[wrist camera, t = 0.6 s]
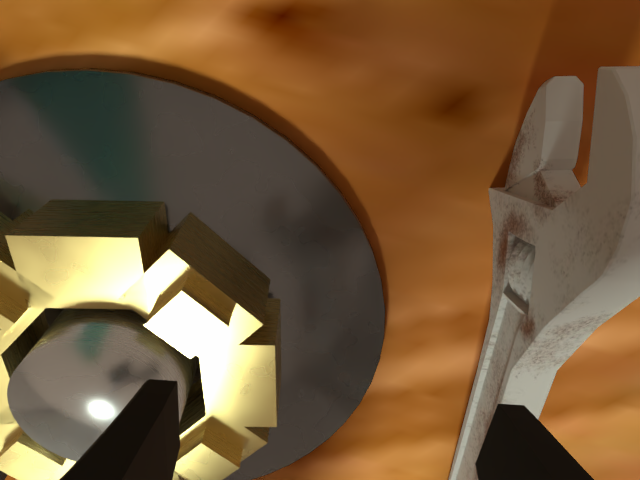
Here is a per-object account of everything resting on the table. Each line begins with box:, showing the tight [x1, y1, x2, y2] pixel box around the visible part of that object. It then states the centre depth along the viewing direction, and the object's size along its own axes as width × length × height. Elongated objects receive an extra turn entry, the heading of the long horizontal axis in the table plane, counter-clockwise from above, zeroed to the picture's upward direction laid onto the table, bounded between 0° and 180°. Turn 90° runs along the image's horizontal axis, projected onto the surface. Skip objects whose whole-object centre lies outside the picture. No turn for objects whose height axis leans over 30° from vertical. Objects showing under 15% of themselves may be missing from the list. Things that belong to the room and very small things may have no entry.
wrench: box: [449, 66, 640, 480], centre depth 21 cm, size 8×2×30 cm
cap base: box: [0, 69, 385, 480], centre depth 19 cm, size 22×22×5 cm
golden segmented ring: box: [0, 199, 282, 480], centre depth 18 cm, size 13×17×4 cm
